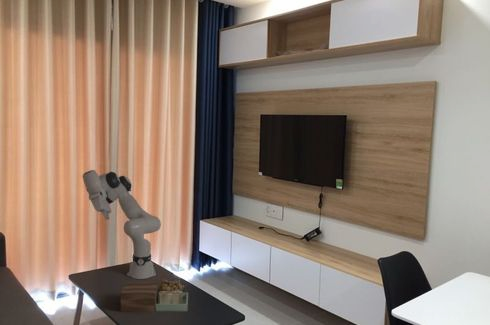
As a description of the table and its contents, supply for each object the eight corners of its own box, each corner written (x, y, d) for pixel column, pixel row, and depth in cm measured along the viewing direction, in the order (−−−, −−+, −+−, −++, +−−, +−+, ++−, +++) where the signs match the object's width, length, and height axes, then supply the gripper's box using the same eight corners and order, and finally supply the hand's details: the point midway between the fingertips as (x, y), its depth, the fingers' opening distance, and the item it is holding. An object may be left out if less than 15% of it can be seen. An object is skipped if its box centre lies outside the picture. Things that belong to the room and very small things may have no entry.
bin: (158, 299, 243) (158, 292, 242) (187, 299, 245) (188, 292, 244) (155, 311, 227) (155, 304, 227) (187, 311, 229) (187, 304, 229)
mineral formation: (160, 289, 257) (184, 287, 259) (158, 301, 245) (184, 299, 247) (159, 277, 255) (184, 275, 257) (158, 289, 243) (184, 287, 245)
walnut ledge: (125, 299, 241) (125, 282, 240) (157, 299, 243) (157, 282, 242) (120, 311, 225) (120, 293, 224) (154, 311, 227) (155, 293, 226)
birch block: (160, 291, 238) (182, 291, 240) (160, 301, 239) (181, 301, 240) (159, 294, 233) (181, 294, 235) (159, 305, 234) (181, 305, 235)
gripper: (98, 201, 247) (107, 222, 244) (87, 196, 227) (96, 220, 224) (109, 197, 247) (117, 218, 245) (98, 191, 227) (107, 214, 225)
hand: (107, 219), depth 234 cm, fingers closed
